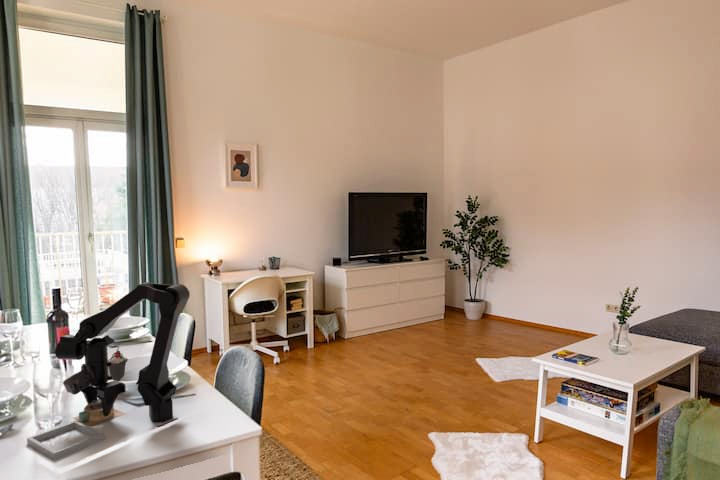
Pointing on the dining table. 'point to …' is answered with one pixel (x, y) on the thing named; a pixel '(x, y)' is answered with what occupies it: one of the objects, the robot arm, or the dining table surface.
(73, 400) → the dining table surface
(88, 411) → the ring
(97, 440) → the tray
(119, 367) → the sundae
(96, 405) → the wooden peg base
